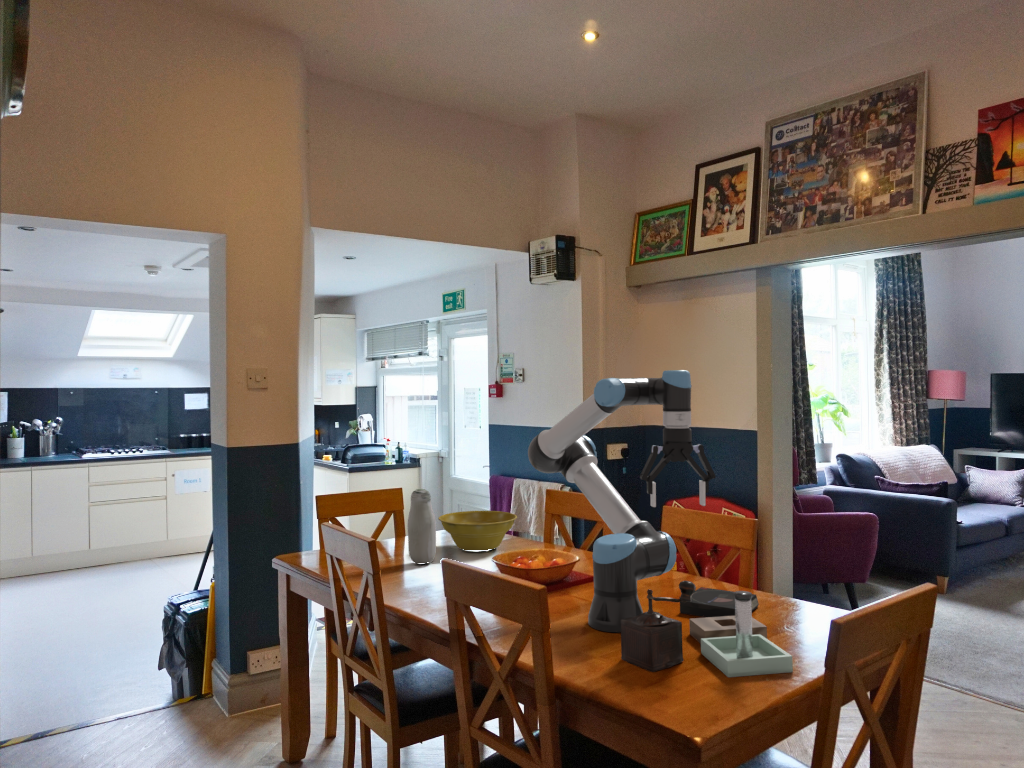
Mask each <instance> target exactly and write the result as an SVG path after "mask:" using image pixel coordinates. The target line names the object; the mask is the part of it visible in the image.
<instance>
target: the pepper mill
mask: <svg viewBox="0 0 1024 768" xmlns="http://www.w3.org/2000/svg"><path fill="white" fill-rule="evenodd" d="M678 588H679V590H680V593H681V594H680V596H679V598H675V597H674V598H673V597H668V596H667V597H666V596H665V597H664V596H658V597H656V596H653V590H652V589H650V588H649V589H647V591H646V593H647V595H646V599H647V600H648V609H647V611H643V613H642V614H640V615H639V616H634V617H630V618H627V619H623V620H621V632H620V645H621V647H620V651H621V652H620V653H621V654H620V655H621V657H620V659H621V660H622V661H623V662H626V663H628V664H631V665H633V666H636V667H637V668H640V669H643V670H645V671H648V672H651V673H655V672H657V671H661V670H662V671H663V670H665V669H668V668H671V667H673V666H676V665H679V664H681V663H683V662H684V657H683V654H684V653H683V650H684V649H683V648H684V647H683V623H682V621H679V620H677V619H674V618H671V617H667V616H664V615H663V614H661V613H660V612H657V611H654V609H653V601H656V602H671V603H680V602H684V603H685V602H687V601H689V602H691V601H692V600H691V595H692V594H693V593H694V592H695V591H696V590H697V587H696V584H695V583H694V582H693V581H690V580H682V581H680V582H679V584H678Z"/></svg>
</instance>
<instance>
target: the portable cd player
mask: <svg viewBox="0 0 1024 768" xmlns="http://www.w3.org/2000/svg"><path fill="white" fill-rule="evenodd" d="M734 592H735V591H732V590H725V589H717V588H710V587H703V586H702V587H701V586H700V587H699V588H696V590H695V592H694V593H693V594H692V595H691V600H692V601H691V602H689V601H687V602H685V603H684V602H679V613H680V614H683V615H684V614H685V615H689V616H690V615H691V616H696V617H700V618H707V617H721V616H735V598H734ZM759 605H760V604H759V600H758V596H757V594H754V593H752V599H751V608H752V612H754V610H756V609H757V608H758V607H759Z"/></svg>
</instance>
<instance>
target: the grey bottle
mask: <svg viewBox="0 0 1024 768" xmlns="http://www.w3.org/2000/svg"><path fill="white" fill-rule="evenodd" d="M407 536H408V537H407V538H408V539H407V541H408V542H407V543H408V544H407V545H408V554H409V557H410V559H411V561H412V562H413V563H414V562H415V563H414V564H416V563H427V562H430V563H432V562H433V561H434V559H435V557H436V554H437V553H436V552H437V523H436V516H435V512H434V510H433V505H432V498H431V493H430V492H429V491H428V490H427V489H423V488H418V489H417V488H416V489H415V490H413V491H412V492H411V495H410V509H409V513H408V518H407ZM431 561H432V562H431Z"/></svg>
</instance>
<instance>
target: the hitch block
mask: <svg viewBox="0 0 1024 768" xmlns="http://www.w3.org/2000/svg"><path fill="white" fill-rule="evenodd" d="M688 623H689V635H690V636H691V637H692V638H694V639H695V641H697V642H698V643H699V644H701V638H715V637H729V636H736V622H735V616H721V617H696V618H695V617H694V618H689V622H688ZM757 634H761V635H762V636H763V637H765V638H766V639H768V627H767V626H766V625H765V624H764V623H762V622H760V621H759V620H757V619H755V618H754V617H753V616H752V635H757Z"/></svg>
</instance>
